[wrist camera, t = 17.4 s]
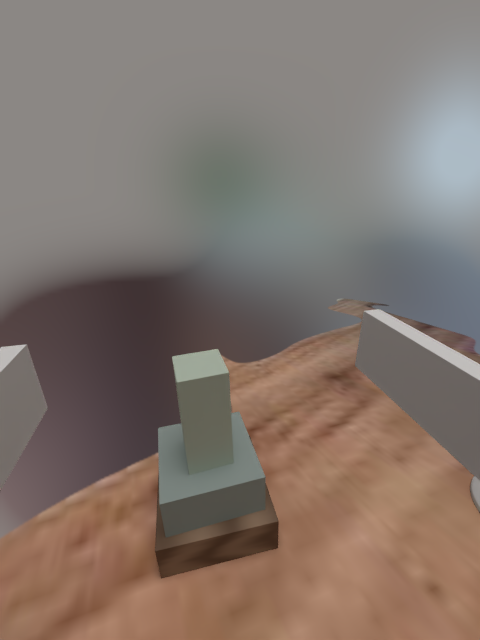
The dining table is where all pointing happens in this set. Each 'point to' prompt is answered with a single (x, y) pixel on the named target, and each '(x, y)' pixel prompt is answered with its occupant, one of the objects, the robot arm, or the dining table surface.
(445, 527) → the dining table surface
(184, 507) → the slate top block
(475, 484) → the candlestick
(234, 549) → the walnut base block
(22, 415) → the robot arm
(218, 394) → the sage pillar block
